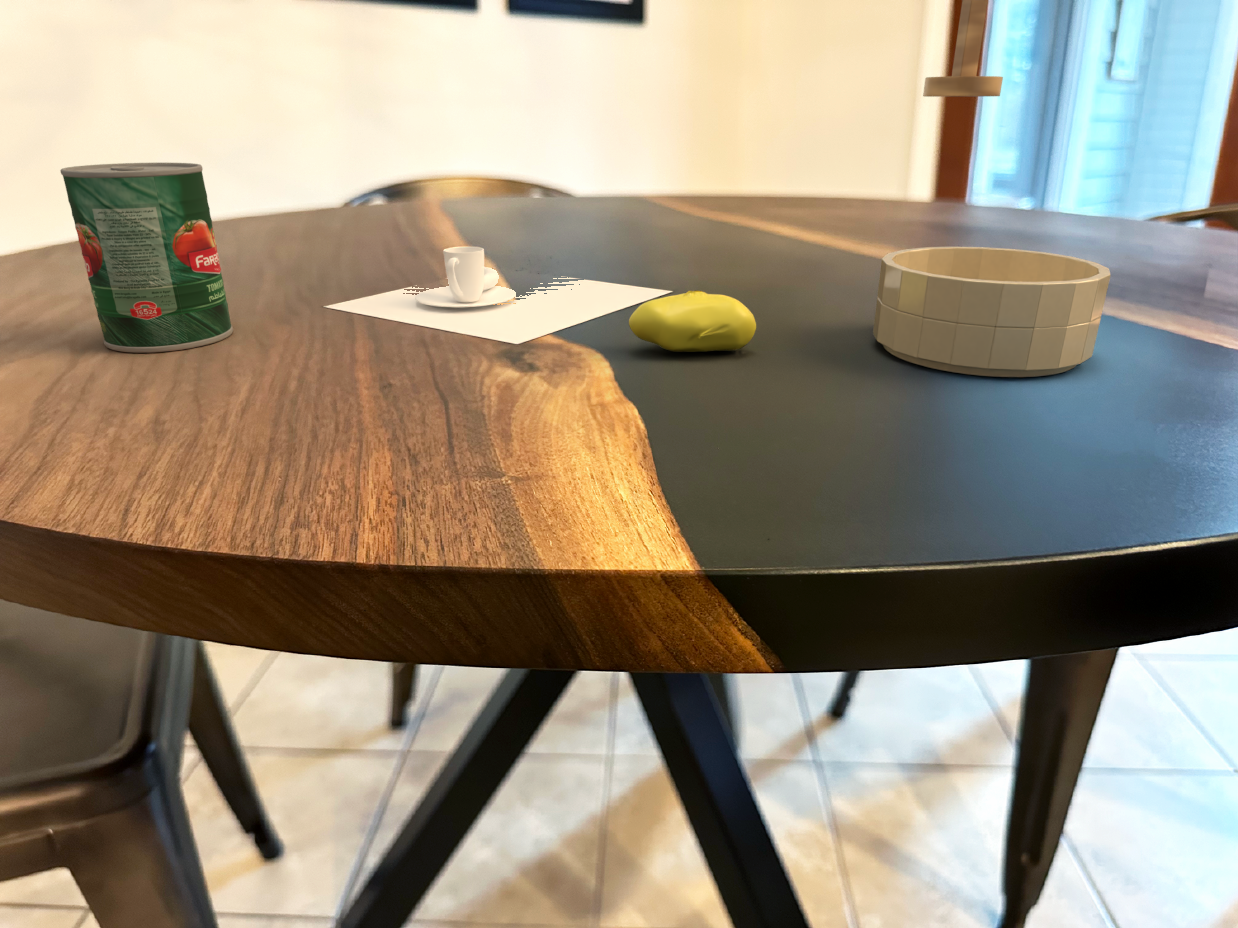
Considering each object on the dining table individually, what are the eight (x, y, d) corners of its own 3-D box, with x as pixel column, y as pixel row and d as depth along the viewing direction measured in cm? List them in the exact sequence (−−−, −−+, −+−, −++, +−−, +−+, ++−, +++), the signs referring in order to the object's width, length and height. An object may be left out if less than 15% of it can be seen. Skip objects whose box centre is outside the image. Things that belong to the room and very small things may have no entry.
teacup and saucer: (471, 285, 73) (468, 237, 71) (543, 296, 68) (541, 245, 67) (394, 304, 66) (388, 252, 64) (468, 317, 62) (463, 262, 60)
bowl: (1008, 322, 60) (1022, 244, 58) (1139, 374, 49) (1163, 279, 47) (841, 330, 58) (849, 249, 56) (935, 386, 47) (950, 287, 44)
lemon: (758, 361, 51) (762, 298, 50) (627, 360, 52) (627, 297, 50) (751, 343, 55) (755, 284, 54) (630, 342, 55) (630, 283, 54)
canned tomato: (250, 338, 57) (219, 166, 52) (120, 360, 52) (74, 173, 48) (212, 318, 62) (181, 160, 58) (92, 336, 57) (48, 166, 53)
